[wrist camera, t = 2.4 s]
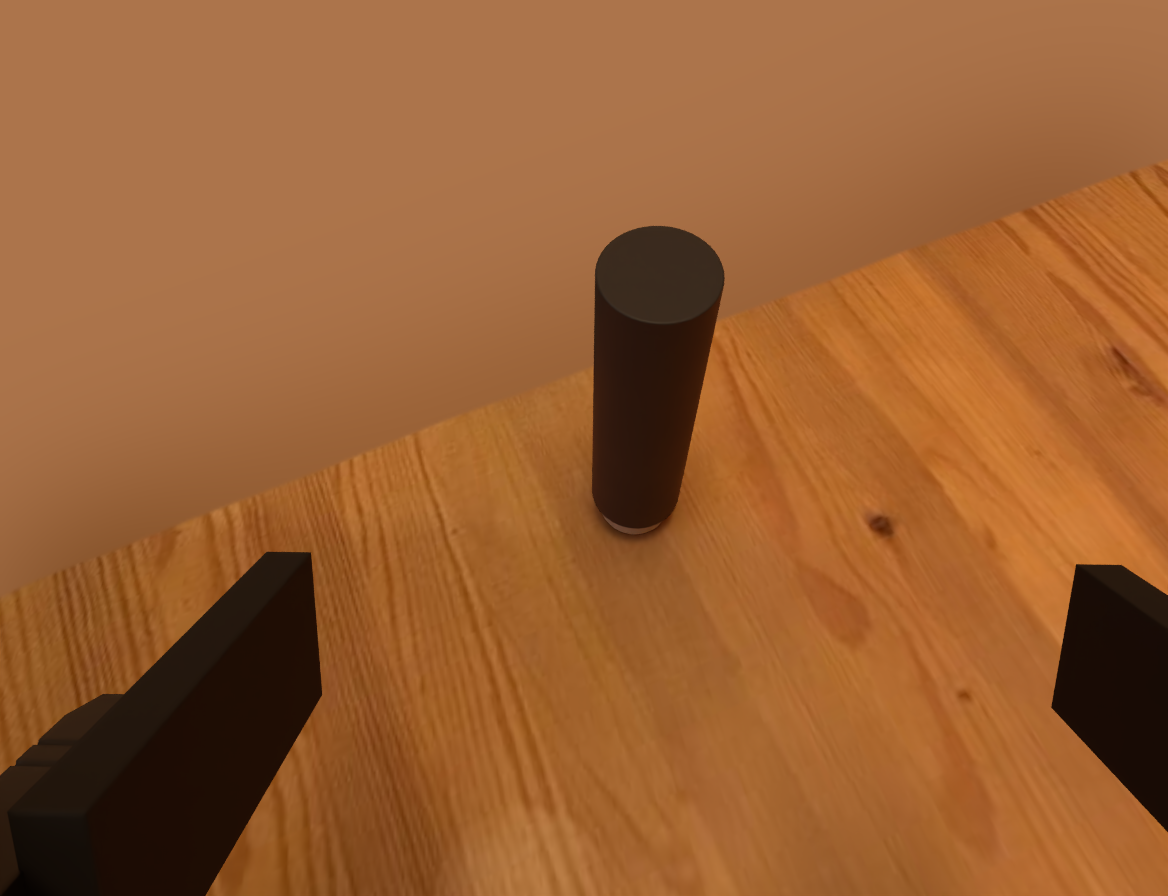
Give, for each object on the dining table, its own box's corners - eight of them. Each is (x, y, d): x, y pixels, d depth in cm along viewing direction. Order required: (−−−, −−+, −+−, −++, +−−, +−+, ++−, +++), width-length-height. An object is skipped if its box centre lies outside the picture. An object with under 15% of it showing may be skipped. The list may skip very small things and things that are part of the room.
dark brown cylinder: (584, 533, 32) (583, 311, 20) (601, 460, 33) (608, 216, 22) (668, 549, 31) (715, 333, 20) (681, 475, 33) (732, 235, 21)
